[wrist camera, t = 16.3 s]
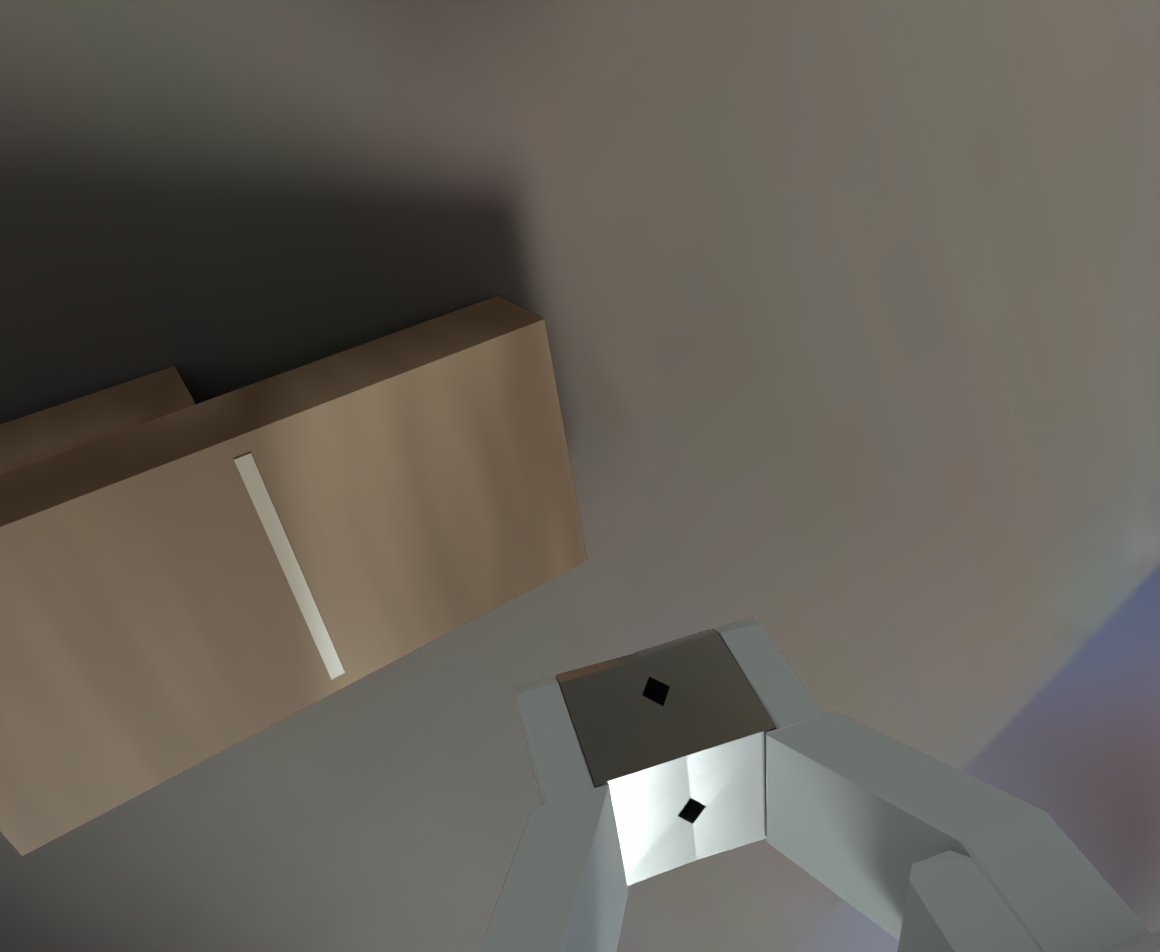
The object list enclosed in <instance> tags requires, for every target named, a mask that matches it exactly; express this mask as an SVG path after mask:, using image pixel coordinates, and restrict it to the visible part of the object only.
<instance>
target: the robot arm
mask: <svg viewBox="0 0 1160 952" xmlns="http://www.w3.org/2000/svg"><path fill="white" fill-rule="evenodd" d="M513 689H514V696H515V701H516V705H517V709H518V713H519V717H520V721H521V725H522V729H523V733H524V737H525V741H526V745H527V749H528V753H529V757H530V761H531V765H532V769H533V773H534V777H535V781H536V785H537V789H538V793H539V797H540V800H541V804H542V805H540V806H537V807H535V808H532V809H531V811H530V814H529V816H528V819H527V822H526V825H525V827H524V830H523V833H522V835H521V838H520V841H519V843H518V846H517V849H516V852H515V854H514V857H513V860H512V862H511V865H510V868H509V871H508V873H507V876H506V879H505V881H504V884H503V887H502V890H501V892H500V895H499V898H498V900H497V903H496V906H495V908H494V911H493V914H492V917H491V919H490V922H489V925H488V927H487V930H486V933H485V936H484V938H483V941H482V944H481V946H480V949H479V952H616V951H617V945H618V940H619V935H620V930H621V925H622V920H623V915H624V910H625V905H626V900H627V895H628V887H627V886H628V885H631V884H634V883H636V882H639V881H642V880H644V879H647V878H650V877H652V876H655V875H658V874H660V873H663V872H666V871H668V870H671V869H674V868H676V867H679V866H682V865H684V864H687V863H690V862H692V861H695V860H698V859H701V858H704V857H708V856H711V855H714V854H717V853H720V852H724V851H727V850H730V849H733V848H736V847H740V846H743V845H746V844H749V843H752V842H756V841H759V840H762V839H765V838H767V842H768V843H769V844H770V845H772V846H773V847H774V848H776V849H777V850H778V851H780V852H781V853H782V854H784V855H785V856H786V857H788V858H789V859H790V860H792V861H793V862H794V863H796V864H797V865H798V866H800V867H801V868H802V869H804V870H805V871H806V872H808V873H809V874H810V875H812V876H813V877H814V878H816V879H817V880H818V881H820V882H821V883H822V884H824V885H825V886H826V887H828V888H829V889H830V890H832V891H833V892H834V893H836V894H837V895H838V896H840V897H841V898H842V899H844V900H845V901H846V902H848V903H849V904H851V905H852V906H853V907H855V908H856V909H857V910H859V911H860V912H861V913H863V914H864V915H865V916H867V917H868V918H869V919H871V920H872V921H873V922H875V923H876V924H877V925H879V926H880V927H881V928H883V929H884V930H885V931H887V932H888V933H889V934H891V935H892V936H893V937H895V938H896V939H897V940H899V946H898V951H897V952H1160V929H1157V930H1154V931H1152V932H1149V930H1148V929H1147V928H1146V927H1145V925H1144V924H1143V923H1142V922H1141V921H1140V920H1139V919H1138V918H1137V916H1136V915H1135V914H1134V913H1133V912H1132V911H1131V909H1130V908H1129V907H1128V906H1127V905H1126V904H1125V902H1124V901H1123V900H1122V899H1121V898H1120V897H1119V896H1118V894H1117V893H1116V892H1115V891H1114V890H1113V889H1112V888H1111V886H1110V885H1109V884H1108V883H1107V882H1106V881H1105V880H1104V878H1103V877H1102V876H1101V875H1100V874H1099V873H1098V871H1097V870H1096V869H1095V868H1094V867H1093V866H1092V865H1091V863H1090V862H1089V861H1088V860H1087V859H1086V858H1085V857H1084V856H1083V854H1082V853H1081V852H1080V851H1079V850H1078V849H1077V848H1076V846H1075V845H1074V844H1073V843H1072V842H1071V841H1070V839H1069V838H1068V837H1067V836H1066V835H1065V834H1064V832H1063V831H1062V830H1061V829H1060V828H1059V827H1058V826H1057V824H1056V823H1055V822H1054V821H1053V820H1052V819H1051V818H1050V817H1049V815H1048V814H1047V813H1046V812H1044V811H1042V810H1040V809H1038V808H1036V807H1034V806H1031V805H1029V804H1027V803H1025V802H1023V801H1021V800H1019V799H1017V798H1015V797H1013V796H1010V795H1009V794H1007V793H1005V792H1003V791H1001V790H998V789H996V788H994V787H992V786H990V785H988V784H986V783H984V782H982V781H980V780H978V779H976V778H974V777H972V776H970V775H968V774H966V773H963V772H961V771H959V770H957V769H955V768H953V767H951V766H949V765H947V764H945V763H943V762H941V761H939V760H937V759H935V758H933V757H931V756H928V755H926V754H924V753H922V752H920V751H918V750H916V749H914V748H912V747H910V746H908V745H906V744H904V743H902V742H900V741H898V740H895V739H893V738H891V737H889V736H887V735H885V734H883V733H881V732H879V731H877V730H875V729H873V728H871V727H869V726H867V725H865V724H862V723H860V722H858V721H856V720H854V719H852V718H850V717H848V716H846V715H844V714H842V713H840V712H838V711H832V712H829V713H825V714H823V712H822V711H821V709H820V708H819V706H818V705H817V704H816V702H815V701H814V699H813V698H812V696H811V695H810V693H809V692H808V691H807V689H806V688H805V686H804V685H803V683H802V682H801V681H800V679H799V678H798V676H797V675H796V673H795V672H794V671H793V669H792V668H791V666H790V665H789V663H788V662H787V660H786V659H785V658H784V656H783V655H782V653H781V652H780V650H779V649H778V648H777V646H776V645H775V643H774V642H773V640H772V639H771V637H770V636H769V635H768V633H767V632H766V630H765V629H764V627H763V626H762V625H761V623H760V622H759V621H758V620H757V619H755V618H753V617H748V618H745V619H742V620H739V621H735V622H732V623H729V624H726V625H722V626H719V627H716V628H713V629H712V630H710V629H709V630H706V631H702V632H699V633H696V634H693V635H689V636H686V637H683V638H680V639H677V640H673V641H670V642H667V643H664V644H660V645H657V646H654V647H651V648H648V649H644V650H641V651H638V652H635V653H634V654H631V655H627V656H623V657H620V658H616V659H612V660H609V661H605V662H601V663H598V664H594V665H590V666H586V667H583V668H579V669H575V670H572V671H568V672H564V673H561V674H557V675H556V678H555V677H554V676H553V677H549V678H545V679H542V680H538V681H534V682H531V683H527V684H523V685H520V686H516V687H513Z"/></svg>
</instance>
